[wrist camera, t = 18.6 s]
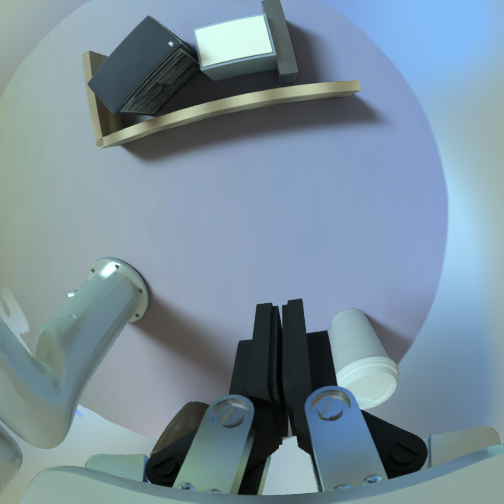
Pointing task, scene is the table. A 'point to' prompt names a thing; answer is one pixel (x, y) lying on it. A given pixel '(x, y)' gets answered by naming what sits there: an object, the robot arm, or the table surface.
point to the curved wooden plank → (114, 134)
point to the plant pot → (181, 424)
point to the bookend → (281, 41)
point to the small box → (144, 70)
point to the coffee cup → (361, 359)
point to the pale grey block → (235, 47)
